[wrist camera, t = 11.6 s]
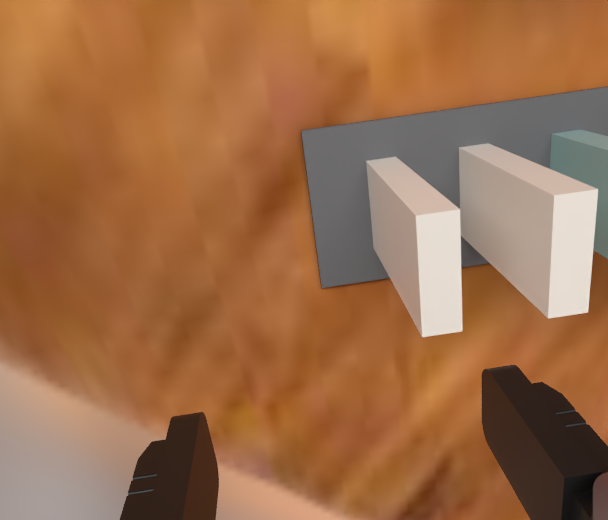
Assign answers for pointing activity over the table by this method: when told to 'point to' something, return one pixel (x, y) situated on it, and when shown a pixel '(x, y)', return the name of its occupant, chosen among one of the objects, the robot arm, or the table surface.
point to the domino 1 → (417, 244)
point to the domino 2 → (530, 226)
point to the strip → (423, 165)
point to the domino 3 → (585, 172)
